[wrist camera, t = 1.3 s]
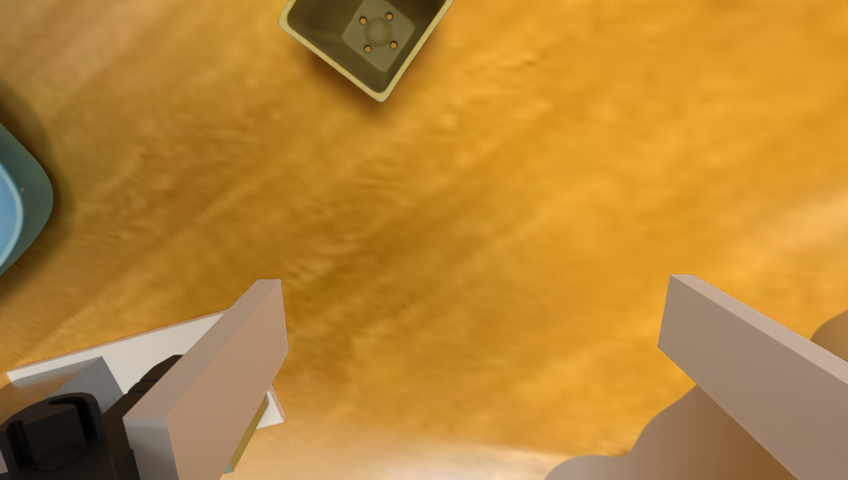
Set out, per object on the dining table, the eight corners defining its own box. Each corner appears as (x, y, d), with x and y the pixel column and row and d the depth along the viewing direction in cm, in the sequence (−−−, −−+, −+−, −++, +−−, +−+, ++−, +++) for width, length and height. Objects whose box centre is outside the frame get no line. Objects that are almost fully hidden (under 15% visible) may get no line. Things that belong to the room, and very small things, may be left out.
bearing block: (102, 355, 43) (11, 423, 33) (153, 447, 46) (84, 532, 37) (15, 379, 44) (-99, 452, 34) (72, 468, 47) (-17, 557, 37)
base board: (237, 306, 43) (232, 310, 42) (286, 415, 47) (283, 422, 46) (14, 367, 44) (5, 372, 43) (79, 468, 48) (72, 475, 47)
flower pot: (389, 109, 38) (381, 105, 29) (308, 46, 36) (274, 22, 28) (448, 24, 36) (458, -7, 27) (365, -46, 34) (348, -103, 26)
